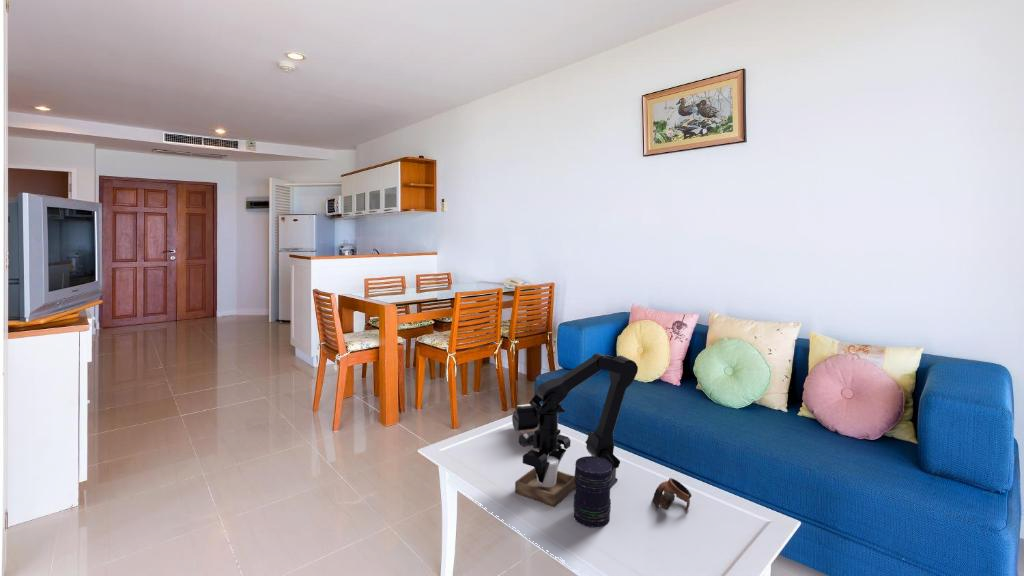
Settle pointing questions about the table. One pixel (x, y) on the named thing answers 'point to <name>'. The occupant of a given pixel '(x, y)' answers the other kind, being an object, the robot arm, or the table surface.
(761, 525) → the table surface
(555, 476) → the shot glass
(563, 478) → the walnut crate
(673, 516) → the table surface
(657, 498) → the brown hollow curved piece
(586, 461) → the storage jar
